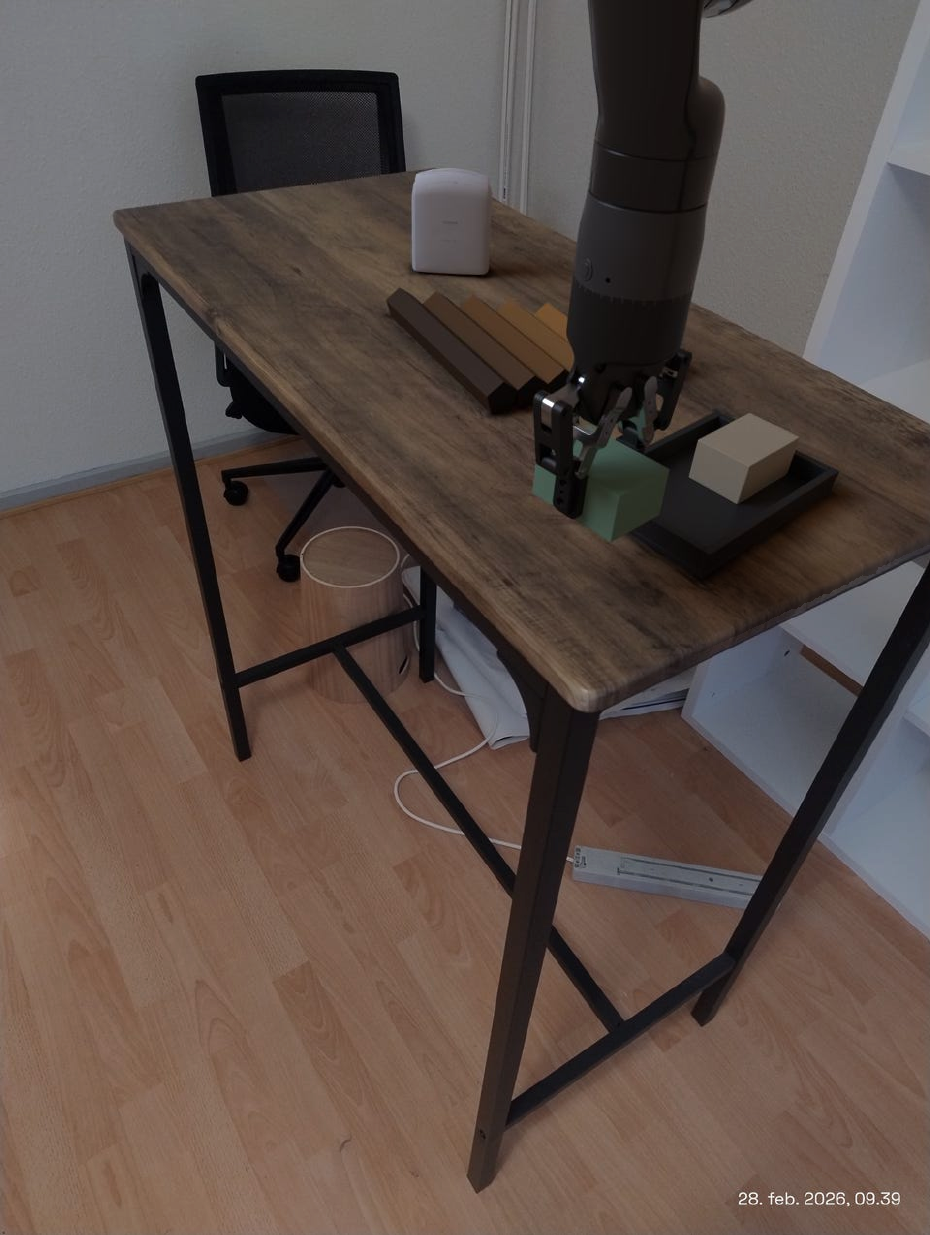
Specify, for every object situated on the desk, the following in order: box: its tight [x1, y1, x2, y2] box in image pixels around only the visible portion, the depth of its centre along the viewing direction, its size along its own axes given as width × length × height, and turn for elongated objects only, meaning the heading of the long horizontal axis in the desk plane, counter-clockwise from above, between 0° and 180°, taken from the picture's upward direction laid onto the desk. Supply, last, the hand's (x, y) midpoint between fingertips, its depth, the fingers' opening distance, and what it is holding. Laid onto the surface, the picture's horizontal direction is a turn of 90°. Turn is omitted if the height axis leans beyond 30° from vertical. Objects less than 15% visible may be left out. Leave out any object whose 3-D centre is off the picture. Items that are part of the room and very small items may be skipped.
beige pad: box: [689, 412, 801, 504], centre depth 79 cm, size 6×8×4 cm
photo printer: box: [411, 167, 493, 276], centre depth 111 cm, size 10×4×12 cm, turn 88°
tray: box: [627, 410, 840, 579], centre depth 78 cm, size 14×20×2 cm
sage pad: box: [531, 424, 669, 543], centre depth 64 cm, size 6×8×4 cm
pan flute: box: [385, 286, 574, 415], centre depth 99 cm, size 25×3×25 cm
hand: (596, 497), depth 65 cm, fingers closed on sage pad, 5 cm apart
